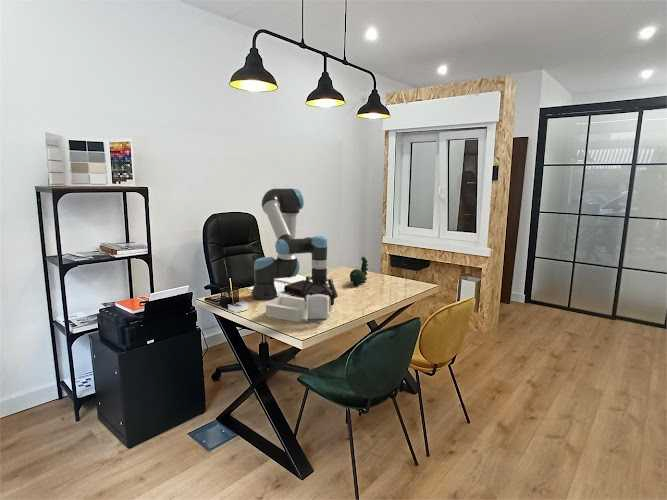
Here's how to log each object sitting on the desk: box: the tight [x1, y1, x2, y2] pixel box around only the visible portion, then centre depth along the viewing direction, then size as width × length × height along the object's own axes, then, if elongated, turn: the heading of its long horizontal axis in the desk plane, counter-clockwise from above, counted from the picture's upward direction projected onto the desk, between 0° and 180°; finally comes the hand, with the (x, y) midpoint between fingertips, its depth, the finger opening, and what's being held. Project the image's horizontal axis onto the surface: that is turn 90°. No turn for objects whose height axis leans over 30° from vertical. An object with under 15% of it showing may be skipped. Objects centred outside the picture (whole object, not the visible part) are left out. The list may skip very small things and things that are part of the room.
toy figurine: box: [349, 256, 369, 287], centre depth 271 cm, size 9×19×25 cm
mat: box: [306, 314, 330, 324], centre depth 201 cm, size 7×12×1 cm, turn 156°
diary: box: [283, 279, 331, 298], centre depth 247 cm, size 19×25×5 cm
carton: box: [262, 294, 308, 323], centre depth 205 cm, size 19×19×7 cm
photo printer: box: [307, 294, 329, 320], centre depth 200 cm, size 10×4×12 cm, turn 97°
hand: (318, 309), depth 200 cm, fingers open, 12 cm apart
